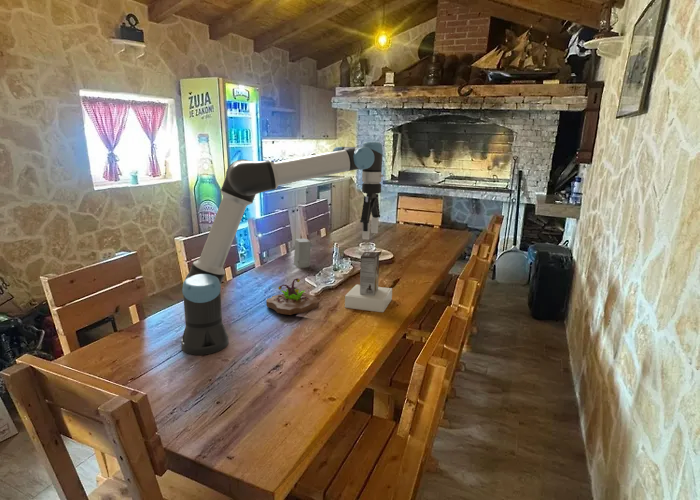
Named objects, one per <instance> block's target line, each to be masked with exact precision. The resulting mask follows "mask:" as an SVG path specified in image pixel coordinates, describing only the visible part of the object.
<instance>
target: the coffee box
mask: <svg viewBox="0 0 700 500" xmlns="http://www.w3.org/2000/svg"><path fill="white" fill-rule="evenodd" d="M379 270H380V252H378V251H364V252H362V254H361V256H360V270H359V271H360V273H359V274H360V275H359V276H360V277H359V278H360V279H359V283H360V284H359V285H360V294H363V295H375V294H376V292H377V290H378V287H379V276H380V275H379Z"/></svg>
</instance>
